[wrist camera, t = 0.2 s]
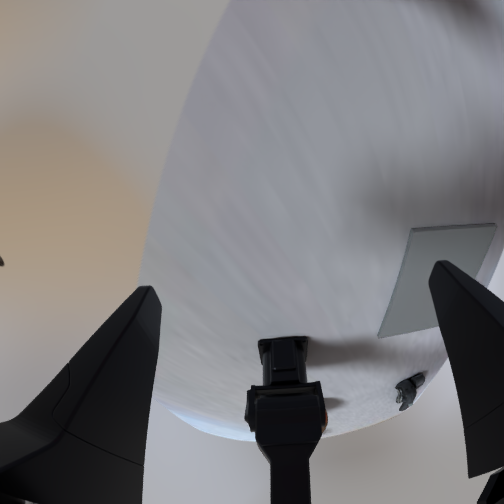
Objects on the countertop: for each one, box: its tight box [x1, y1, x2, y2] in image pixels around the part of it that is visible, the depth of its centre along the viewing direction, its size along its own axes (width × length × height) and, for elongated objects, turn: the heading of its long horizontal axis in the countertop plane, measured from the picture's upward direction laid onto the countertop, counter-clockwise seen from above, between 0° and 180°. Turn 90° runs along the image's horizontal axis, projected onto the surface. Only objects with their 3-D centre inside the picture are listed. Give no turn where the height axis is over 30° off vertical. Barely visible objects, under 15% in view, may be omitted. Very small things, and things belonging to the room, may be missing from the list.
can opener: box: [395, 374, 425, 411], centre depth 49 cm, size 18×7×6 cm, turn 17°
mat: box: [378, 223, 497, 338], centre depth 29 cm, size 18×13×1 cm
